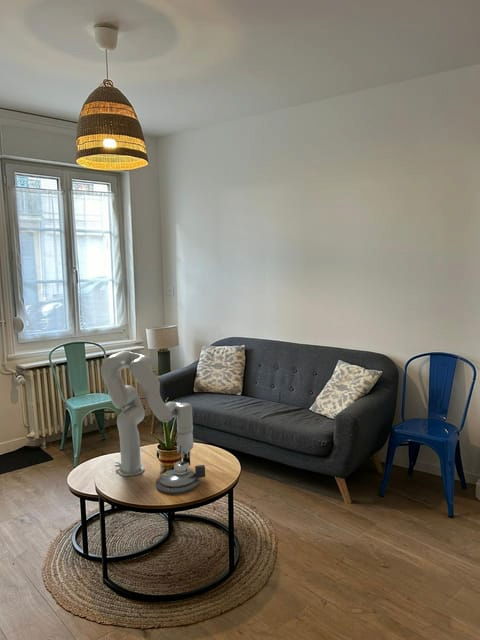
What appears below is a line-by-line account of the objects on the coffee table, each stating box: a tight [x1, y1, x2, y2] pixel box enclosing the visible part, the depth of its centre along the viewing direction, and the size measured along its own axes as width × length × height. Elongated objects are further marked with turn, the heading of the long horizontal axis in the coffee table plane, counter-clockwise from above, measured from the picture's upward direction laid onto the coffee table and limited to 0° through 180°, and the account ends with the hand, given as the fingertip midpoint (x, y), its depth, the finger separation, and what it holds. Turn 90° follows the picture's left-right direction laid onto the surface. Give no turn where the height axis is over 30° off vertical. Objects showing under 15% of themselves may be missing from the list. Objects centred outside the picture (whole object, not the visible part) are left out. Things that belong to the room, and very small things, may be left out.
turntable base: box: [155, 477, 200, 495], centre depth 222 cm, size 20×20×2 cm
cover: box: [174, 460, 191, 475], centre depth 227 cm, size 8×8×4 cm
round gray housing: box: [158, 464, 206, 488], centre depth 221 cm, size 20×17×5 cm
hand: (186, 465), depth 232 cm, fingers closed
